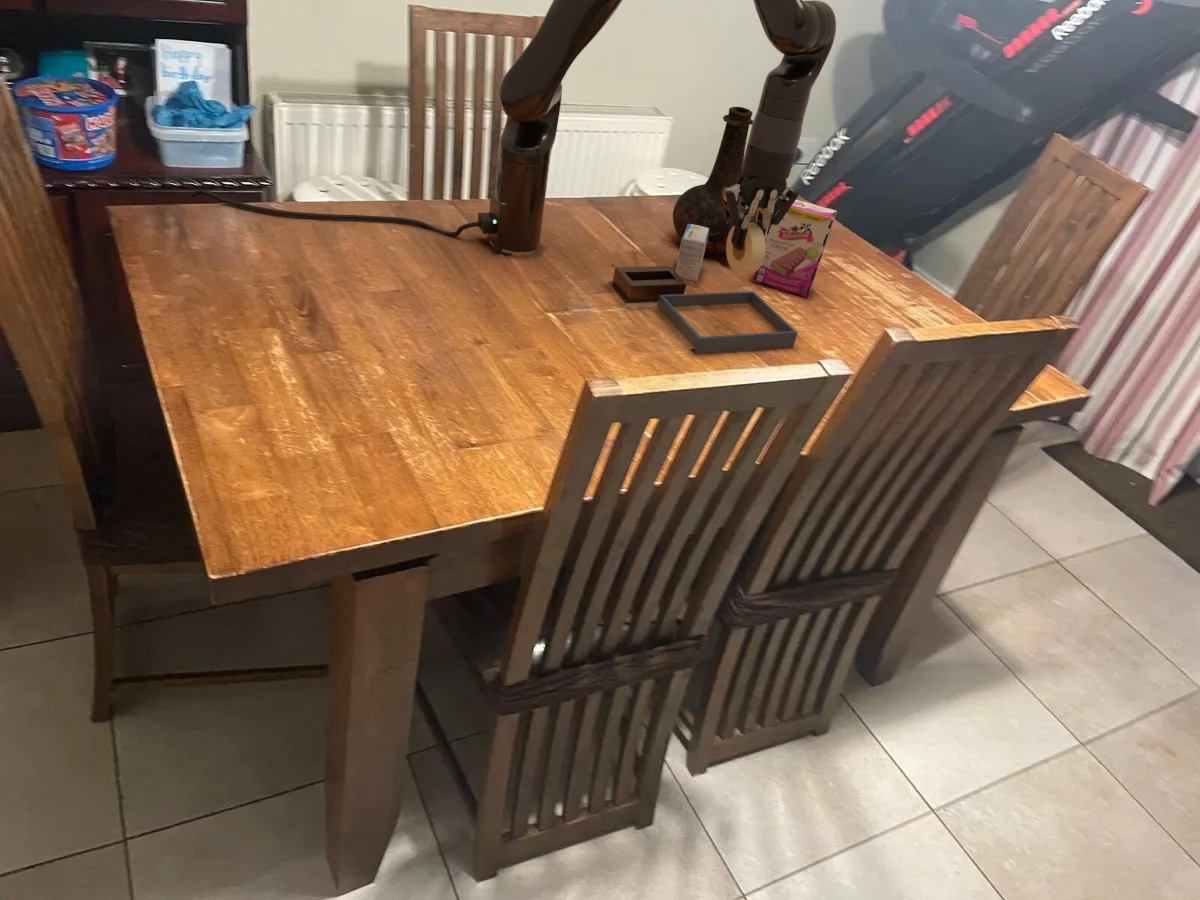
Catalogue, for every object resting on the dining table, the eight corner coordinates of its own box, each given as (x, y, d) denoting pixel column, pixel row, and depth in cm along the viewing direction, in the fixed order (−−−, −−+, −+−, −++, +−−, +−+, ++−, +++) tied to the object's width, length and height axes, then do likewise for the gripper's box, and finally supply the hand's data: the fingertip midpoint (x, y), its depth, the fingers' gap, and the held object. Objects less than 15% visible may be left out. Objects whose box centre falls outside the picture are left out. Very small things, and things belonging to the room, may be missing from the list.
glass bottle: (771, 262, 186) (810, 123, 170) (704, 273, 177) (740, 127, 161) (715, 227, 198) (747, 93, 181) (650, 236, 188) (677, 95, 172)
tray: (695, 354, 150) (699, 338, 148) (656, 310, 161) (659, 294, 159) (793, 347, 157) (797, 332, 156) (749, 305, 168) (753, 291, 167)
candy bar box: (751, 283, 177) (774, 201, 167) (756, 273, 181) (779, 193, 171) (808, 299, 175) (834, 217, 165) (812, 289, 179) (837, 209, 169)
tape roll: (744, 281, 149) (757, 235, 145) (721, 260, 155) (732, 215, 151) (757, 281, 150) (770, 235, 146) (734, 259, 156) (746, 215, 152)
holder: (687, 305, 164) (691, 285, 162) (624, 308, 159) (628, 287, 157) (667, 284, 170) (671, 264, 168) (606, 286, 166) (609, 265, 163)
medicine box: (695, 286, 172) (706, 242, 167) (672, 280, 172) (682, 237, 167) (700, 269, 178) (710, 227, 173) (678, 264, 178) (687, 222, 173)
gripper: (797, 135, 146) (769, 237, 156) (722, 133, 141) (697, 239, 151) (823, 152, 141) (792, 257, 151) (746, 150, 135) (719, 259, 145)
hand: (745, 247), depth 150 cm, fingers closed on tape roll, 2 cm apart
